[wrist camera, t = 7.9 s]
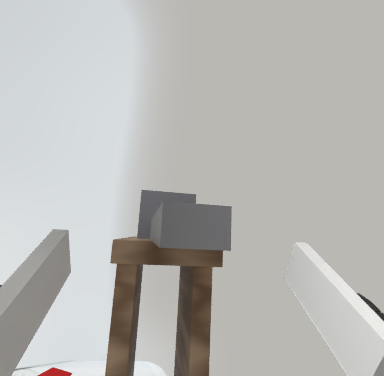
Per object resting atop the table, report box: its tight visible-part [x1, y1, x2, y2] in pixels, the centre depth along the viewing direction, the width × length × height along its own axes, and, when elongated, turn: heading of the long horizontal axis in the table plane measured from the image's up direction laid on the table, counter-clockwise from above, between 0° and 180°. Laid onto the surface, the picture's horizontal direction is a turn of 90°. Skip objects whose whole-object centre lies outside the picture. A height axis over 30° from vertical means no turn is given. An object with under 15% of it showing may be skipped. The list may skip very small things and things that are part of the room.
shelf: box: [105, 237, 223, 376], centre depth 29 cm, size 10×20×30 cm, turn 8°
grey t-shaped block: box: [137, 190, 232, 251], centre depth 26 cm, size 7×25×6 cm, turn 12°
